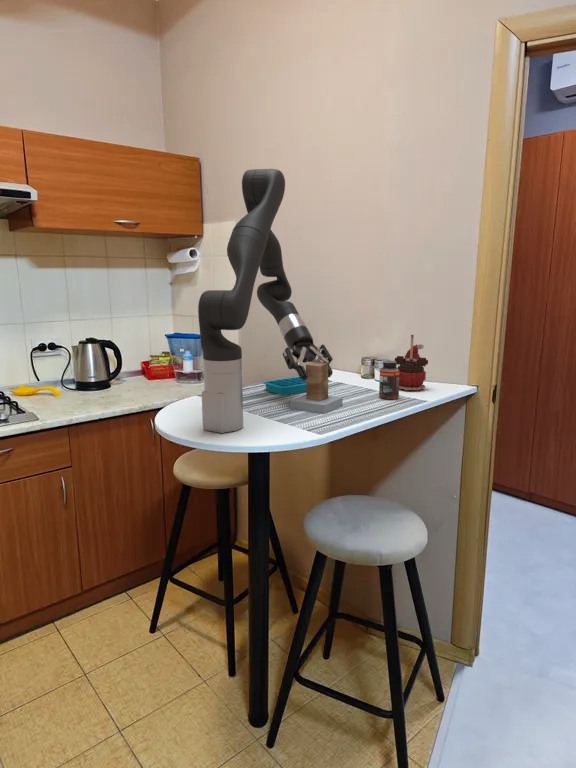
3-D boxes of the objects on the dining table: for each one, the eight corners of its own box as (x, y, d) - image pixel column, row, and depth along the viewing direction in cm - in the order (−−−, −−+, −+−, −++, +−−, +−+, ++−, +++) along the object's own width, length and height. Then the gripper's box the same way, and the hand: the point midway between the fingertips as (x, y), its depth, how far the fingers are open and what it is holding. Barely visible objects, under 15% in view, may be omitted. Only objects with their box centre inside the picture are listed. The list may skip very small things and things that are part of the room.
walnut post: (319, 401, 144) (319, 365, 142) (306, 399, 146) (305, 364, 144) (328, 397, 147) (328, 363, 145) (315, 395, 150) (314, 361, 148)
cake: (390, 390, 169) (392, 335, 166) (397, 384, 178) (400, 332, 174) (422, 393, 165) (425, 337, 161) (429, 387, 173) (432, 334, 169)
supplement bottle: (397, 395, 161) (399, 360, 159) (399, 400, 155) (401, 363, 153) (378, 395, 162) (379, 359, 159) (379, 399, 156) (380, 362, 154)
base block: (324, 415, 140) (324, 405, 139) (289, 410, 146) (289, 400, 145) (342, 407, 149) (342, 397, 148) (309, 403, 155) (309, 393, 154)
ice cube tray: (261, 390, 170) (260, 382, 169) (308, 383, 182) (308, 375, 182) (282, 397, 161) (282, 387, 160) (330, 388, 173) (330, 380, 172)
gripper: (279, 325, 145) (302, 372, 138) (320, 323, 153) (344, 367, 146) (270, 342, 151) (291, 388, 144) (309, 339, 158) (332, 382, 151)
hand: (318, 377), depth 145 cm, fingers open, 8 cm apart
